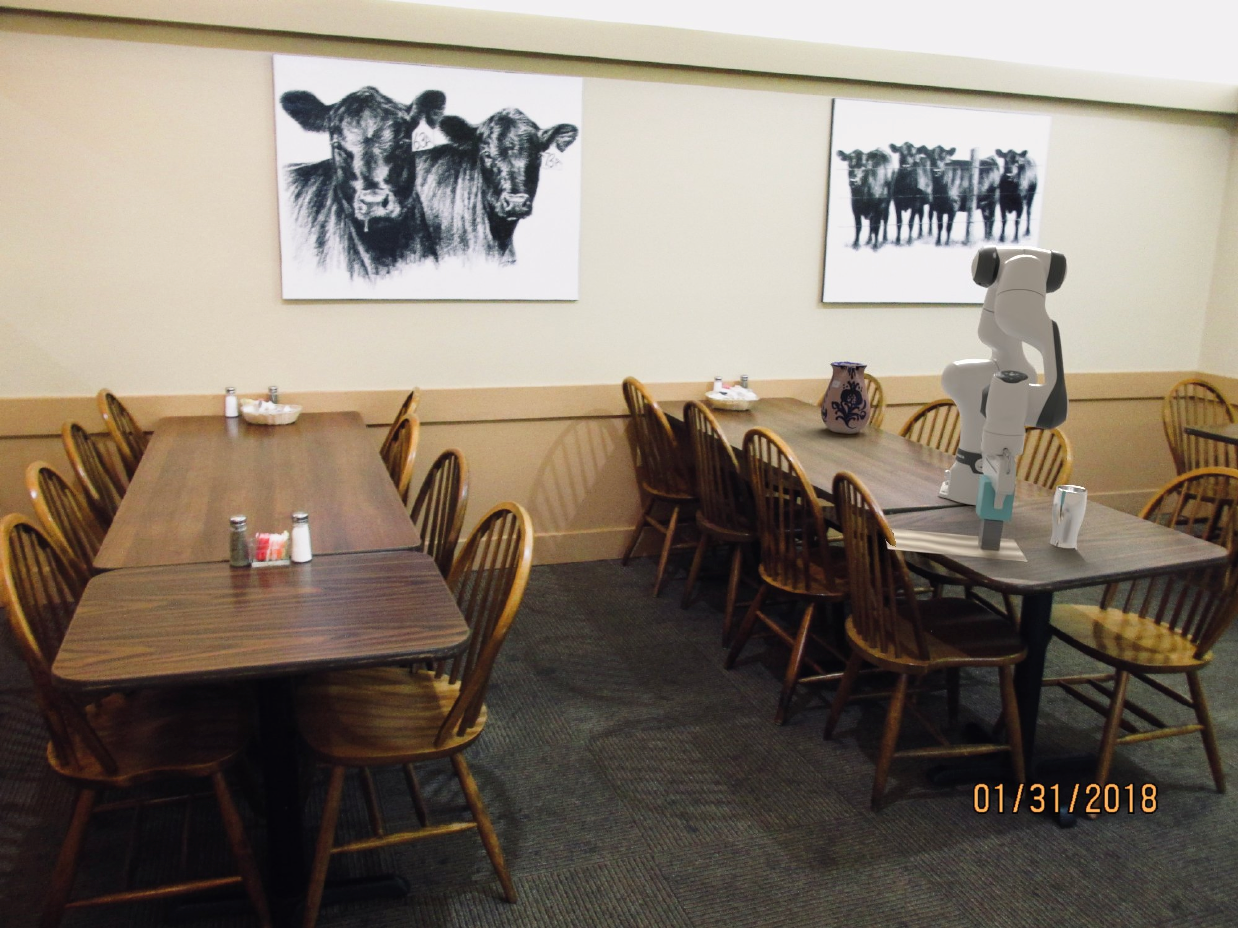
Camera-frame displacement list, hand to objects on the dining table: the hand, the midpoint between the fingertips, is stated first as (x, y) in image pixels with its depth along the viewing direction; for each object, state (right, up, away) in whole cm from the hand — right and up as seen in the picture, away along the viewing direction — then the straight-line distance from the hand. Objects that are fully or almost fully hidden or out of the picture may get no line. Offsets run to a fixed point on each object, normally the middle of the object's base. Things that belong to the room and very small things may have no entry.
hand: (994, 503), depth 217 cm
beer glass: (+19, -12, +7) cm, 23 cm away
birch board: (-8, -11, +4) cm, 15 cm away
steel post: (0, -10, +2) cm, 11 cm away
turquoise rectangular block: (0, -3, +1) cm, 3 cm away
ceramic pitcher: (-3, +21, +134) cm, 136 cm away
